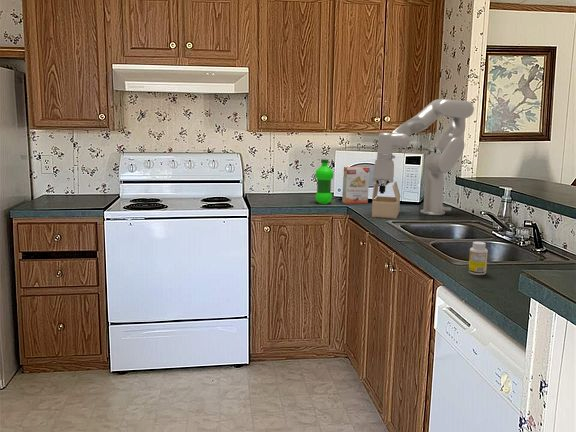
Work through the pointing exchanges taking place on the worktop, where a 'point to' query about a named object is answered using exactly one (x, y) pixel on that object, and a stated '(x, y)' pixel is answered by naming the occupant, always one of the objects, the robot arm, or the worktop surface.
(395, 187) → the flap near
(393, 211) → the carton
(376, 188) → the flap far
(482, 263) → the supplement bottle
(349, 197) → the cracker box
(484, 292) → the worktop surface
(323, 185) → the plastic bottle
